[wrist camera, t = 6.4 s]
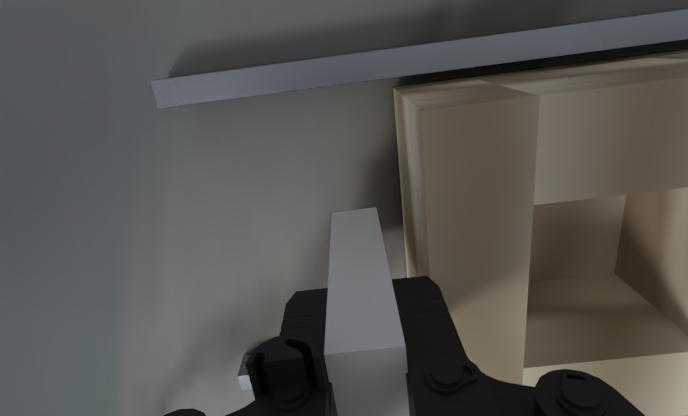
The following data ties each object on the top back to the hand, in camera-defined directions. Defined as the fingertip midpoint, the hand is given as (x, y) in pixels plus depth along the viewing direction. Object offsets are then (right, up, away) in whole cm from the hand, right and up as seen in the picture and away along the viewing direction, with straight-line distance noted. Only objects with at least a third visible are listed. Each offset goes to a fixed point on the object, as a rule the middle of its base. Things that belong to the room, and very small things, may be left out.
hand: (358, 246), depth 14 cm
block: (+7, +1, +1) cm, 7 cm away
